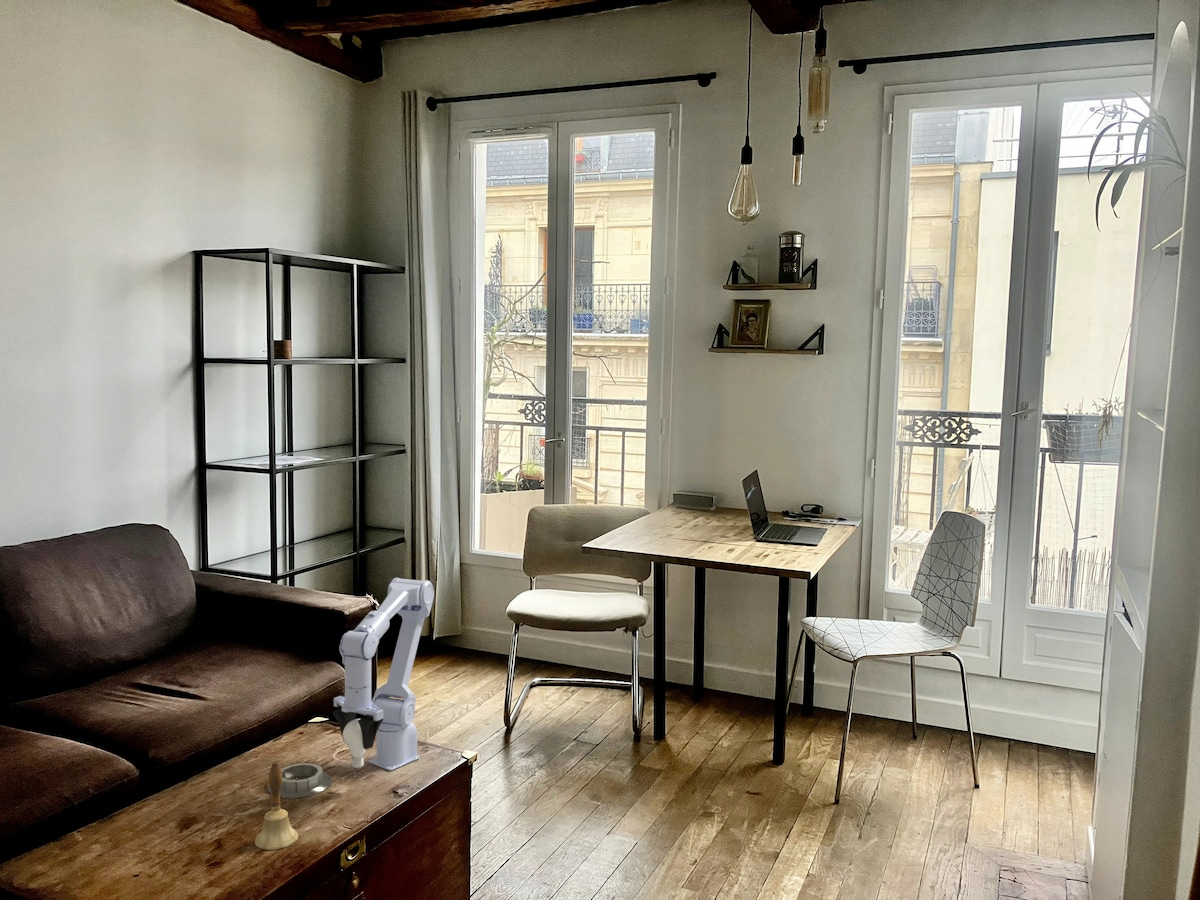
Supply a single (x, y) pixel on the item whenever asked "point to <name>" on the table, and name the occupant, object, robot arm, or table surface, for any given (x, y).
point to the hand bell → (276, 817)
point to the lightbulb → (354, 742)
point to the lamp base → (303, 780)
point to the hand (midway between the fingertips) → (358, 744)
